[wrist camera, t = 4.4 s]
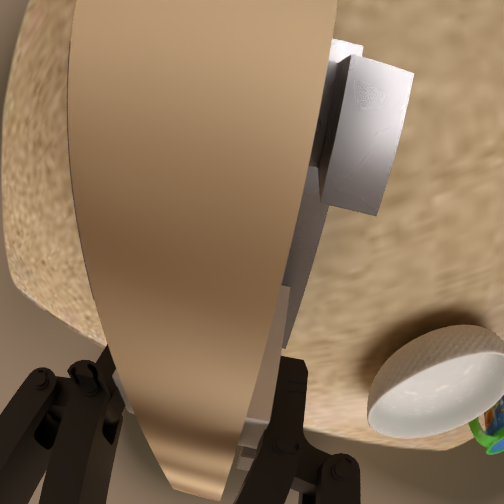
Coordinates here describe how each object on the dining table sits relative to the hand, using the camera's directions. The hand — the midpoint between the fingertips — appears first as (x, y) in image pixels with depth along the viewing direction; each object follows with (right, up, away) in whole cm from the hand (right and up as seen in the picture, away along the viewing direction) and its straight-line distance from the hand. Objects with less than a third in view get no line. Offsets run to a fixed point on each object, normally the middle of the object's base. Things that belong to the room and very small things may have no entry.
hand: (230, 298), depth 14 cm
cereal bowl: (+22, -10, +15) cm, 28 cm away
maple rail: (0, -1, -2) cm, 2 cm away
